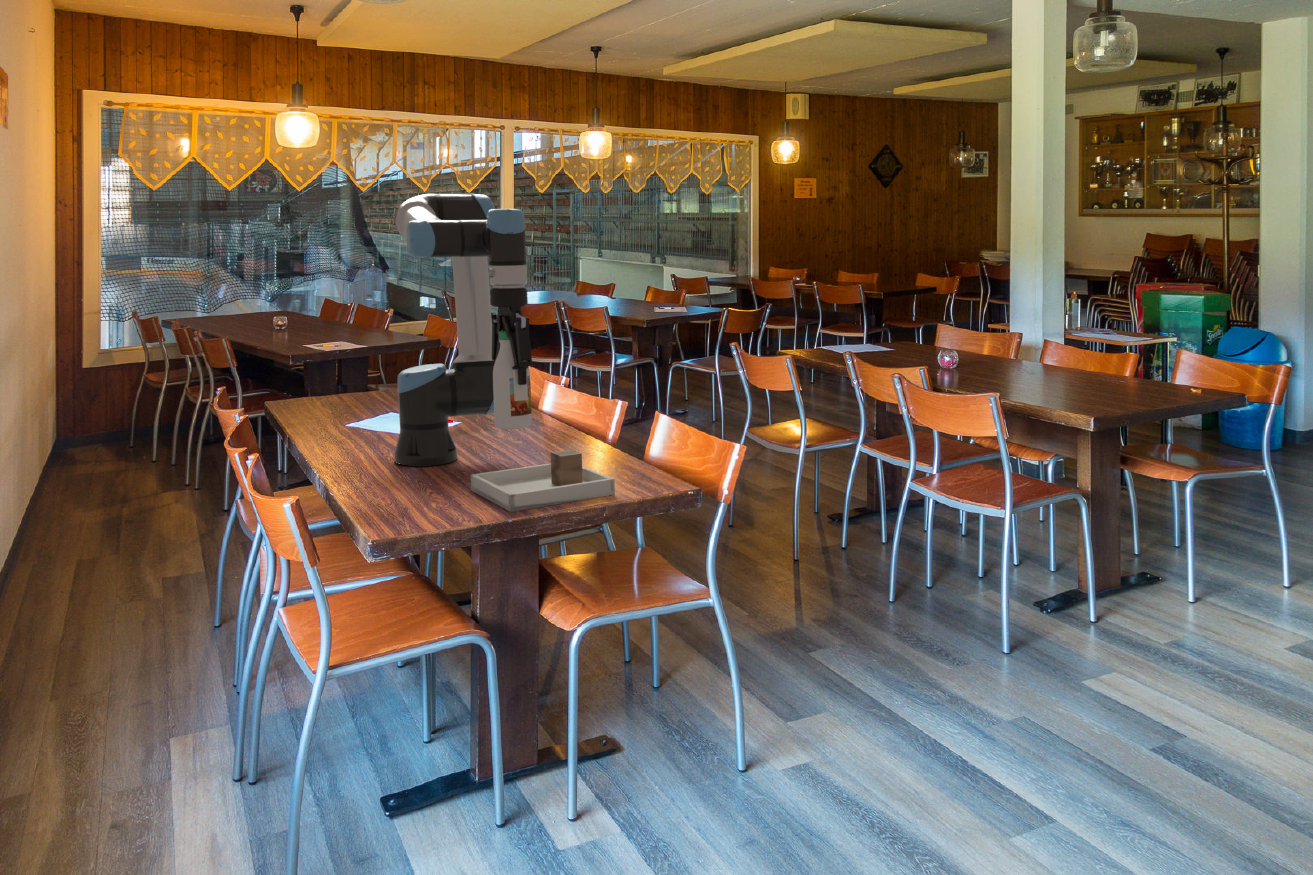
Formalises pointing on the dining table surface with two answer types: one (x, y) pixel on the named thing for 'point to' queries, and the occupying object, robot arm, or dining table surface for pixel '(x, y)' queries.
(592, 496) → the tray
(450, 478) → the dining table surface
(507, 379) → the milk bottle
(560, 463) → the walnut block
